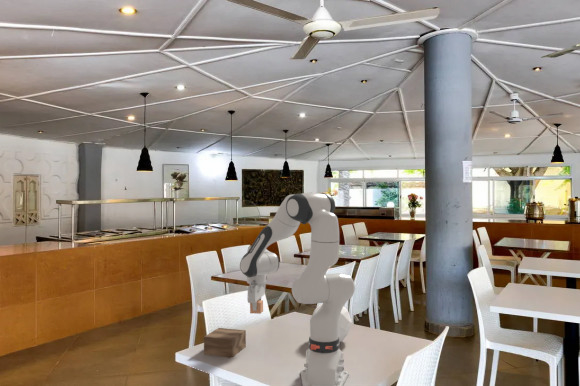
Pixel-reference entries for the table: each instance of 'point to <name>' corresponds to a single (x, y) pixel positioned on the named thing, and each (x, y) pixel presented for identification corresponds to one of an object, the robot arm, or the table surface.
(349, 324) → the polyhedron
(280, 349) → the table surface
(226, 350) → the walnut box
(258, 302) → the cube
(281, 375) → the table surface
